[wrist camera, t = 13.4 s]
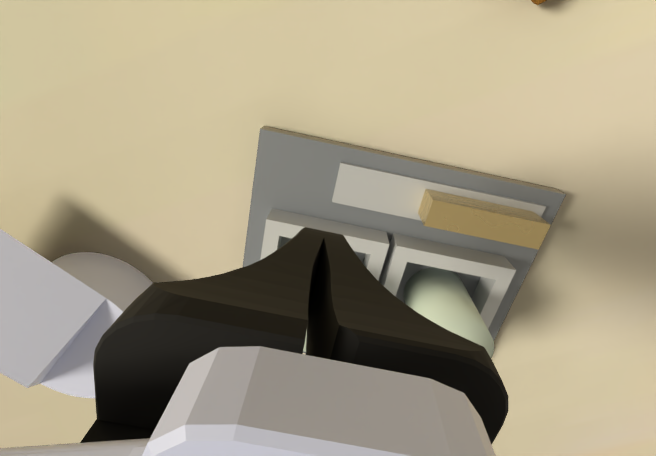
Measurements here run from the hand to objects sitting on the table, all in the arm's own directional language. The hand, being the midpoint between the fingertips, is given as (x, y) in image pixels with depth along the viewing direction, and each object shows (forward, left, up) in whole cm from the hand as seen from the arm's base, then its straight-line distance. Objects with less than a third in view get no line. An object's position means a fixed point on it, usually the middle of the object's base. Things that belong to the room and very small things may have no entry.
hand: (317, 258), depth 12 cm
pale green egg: (-6, -8, -9) cm, 13 cm away
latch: (0, -8, -9) cm, 12 cm away
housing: (-5, -4, -10) cm, 12 cm away
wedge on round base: (-12, +15, -10) cm, 22 cm away
